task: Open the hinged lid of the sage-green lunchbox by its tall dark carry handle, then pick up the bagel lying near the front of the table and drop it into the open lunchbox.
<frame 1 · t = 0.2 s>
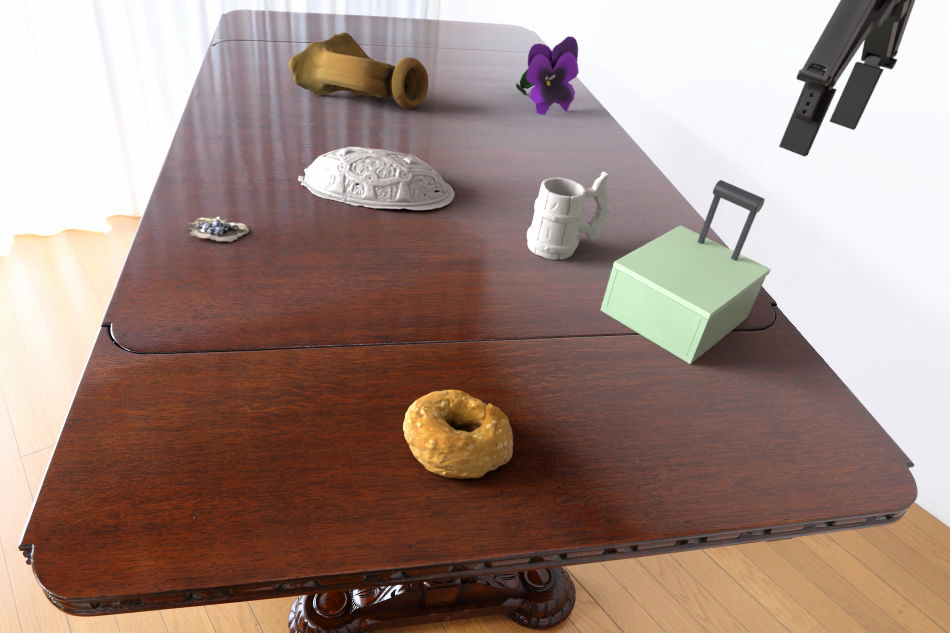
hand: (819, 137, 71), 27 cm above the table, tool pointing down, fingers open, 13 cm apart
flower: (536, 103, 151), on the table
bagel: (457, 447, 68), on the table
lunchbox lid: (704, 237, 84), point 12 cm above the table, hinge at 0.0°
lunchbox: (674, 314, 91), on the table
blueberries: (219, 232, 94), on the table
ornate oval dome: (377, 187, 110), on the table
brown looped sculpture: (359, 99, 140), on the table
mug: (562, 248, 102), on the table
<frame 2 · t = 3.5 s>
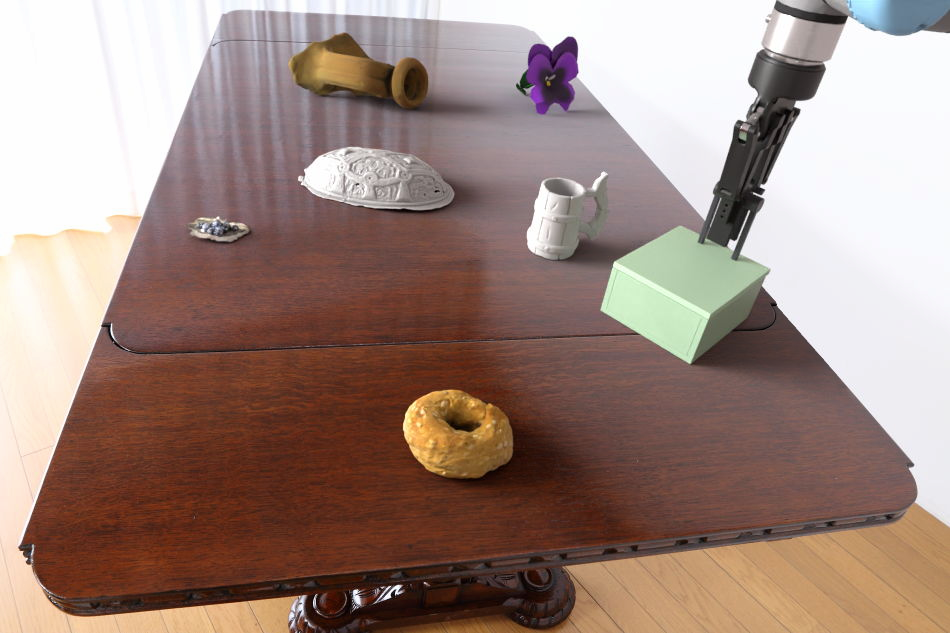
hand: (721, 238, 89), 9 cm above the table, tool pointing down, fingers closed on lunchbox lid, 2 cm apart
lunchbox lid: (704, 237, 84), point 12 cm above the table, hinge at 0.0°, touching gripper
everything else where it was.
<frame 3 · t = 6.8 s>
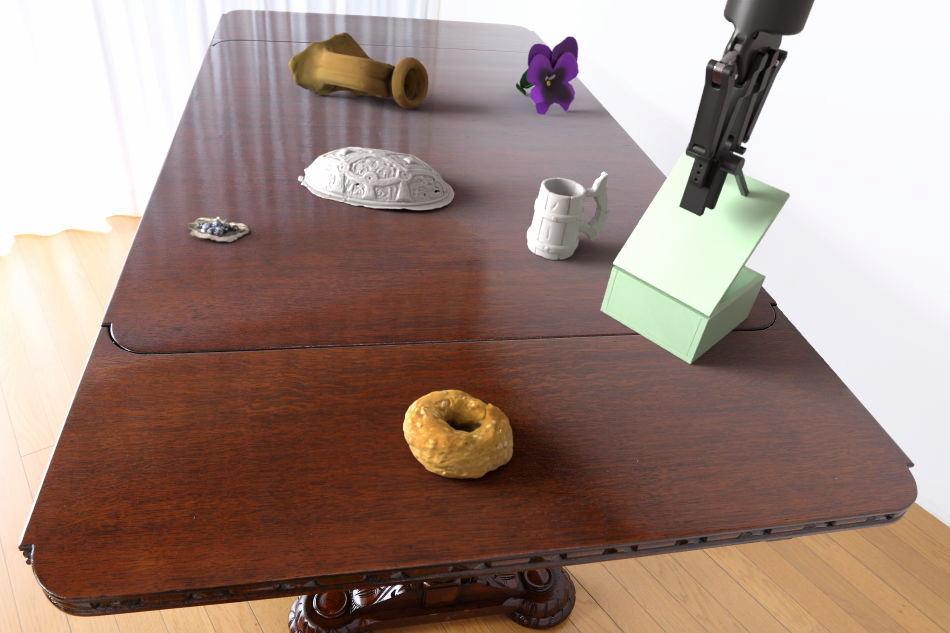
hand: (697, 207, 77), 18 cm above the table, tool pointing down, fingers closed on lunchbox lid, 2 cm apart
lunchbox lid: (690, 218, 77), point 16 cm above the table, hinge at 51.1°, touching gripper
everything else where it was.
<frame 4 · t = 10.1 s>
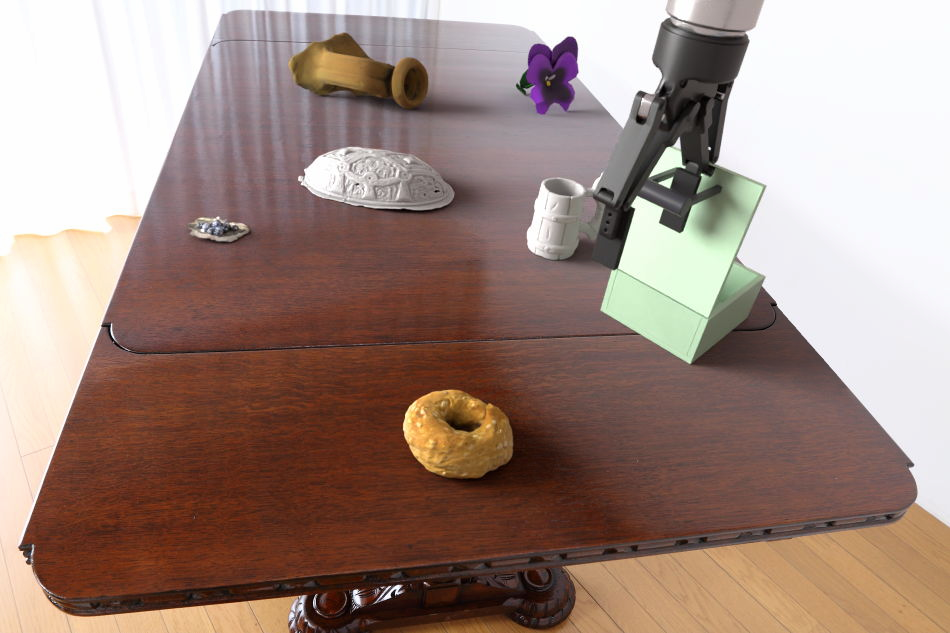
hand: (639, 244, 70), 17 cm above the table, tool pointing down, fingers open, 12 cm apart
lunchbox lid: (661, 239, 74), point 16 cm above the table, hinge at 87.7°
everything else where it was.
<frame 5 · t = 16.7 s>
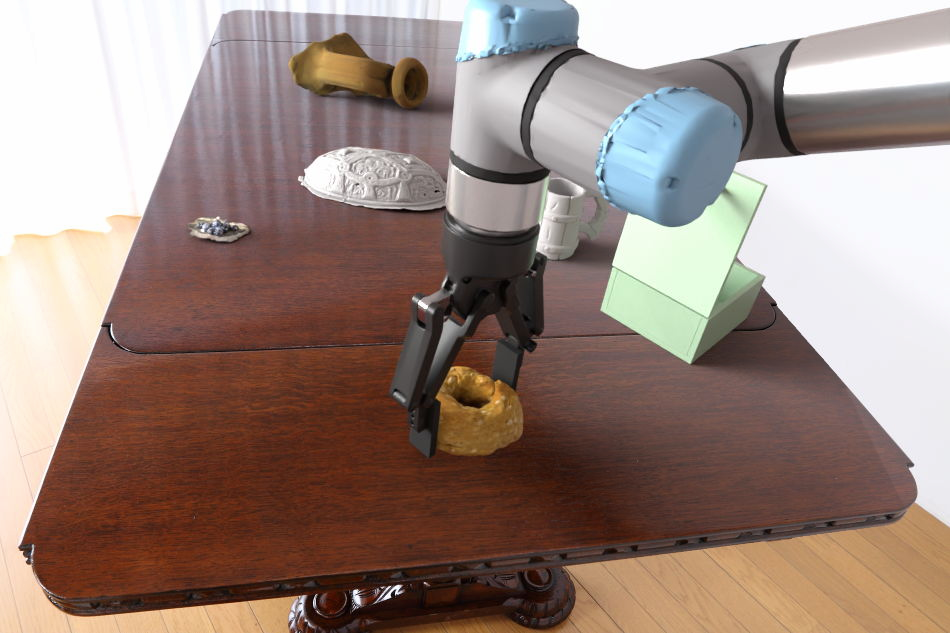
hand: (463, 421, 65), 4 cm above the table, tool pointing down, fingers closed on bagel, 10 cm apart
bagel: (465, 425, 65), point 3 cm above the table, touching gripper
lunchbox lid: (661, 238, 74), point 16 cm above the table, hinge at 86.8°
everything else where it was.
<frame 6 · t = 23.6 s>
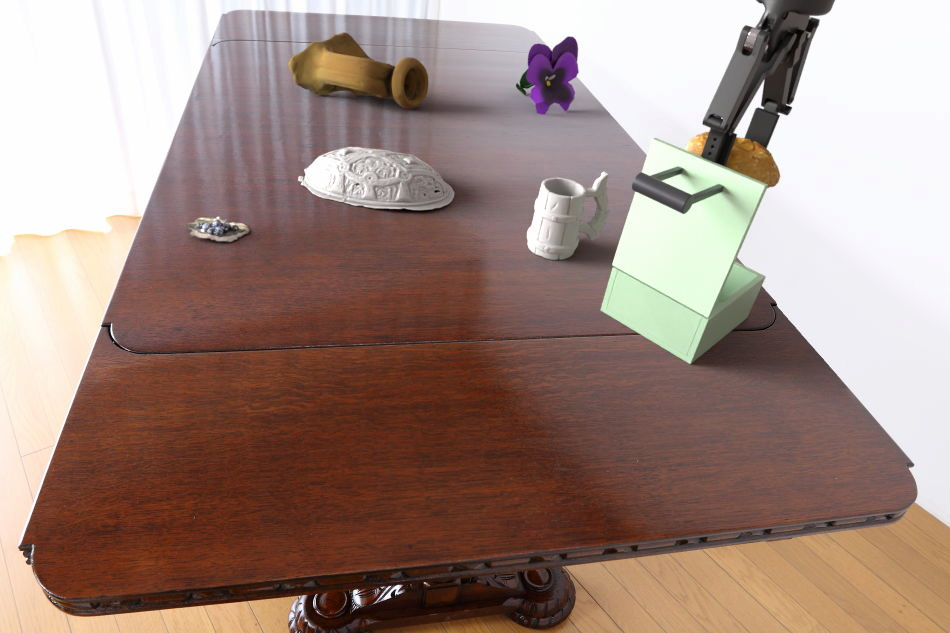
hand: (726, 174, 79), 20 cm above the table, tool pointing down, fingers closed on bagel, 10 cm apart
bagel: (726, 178, 79), point 20 cm above the table, touching gripper
lunchbox lid: (662, 238, 74), point 16 cm above the table, hinge at 86.3°, touching gripper
everything else where it was.
when the fingers open (20 cm above the table, at t = 23.6 s): bagel drops 19 cm, resting on lunchbox.
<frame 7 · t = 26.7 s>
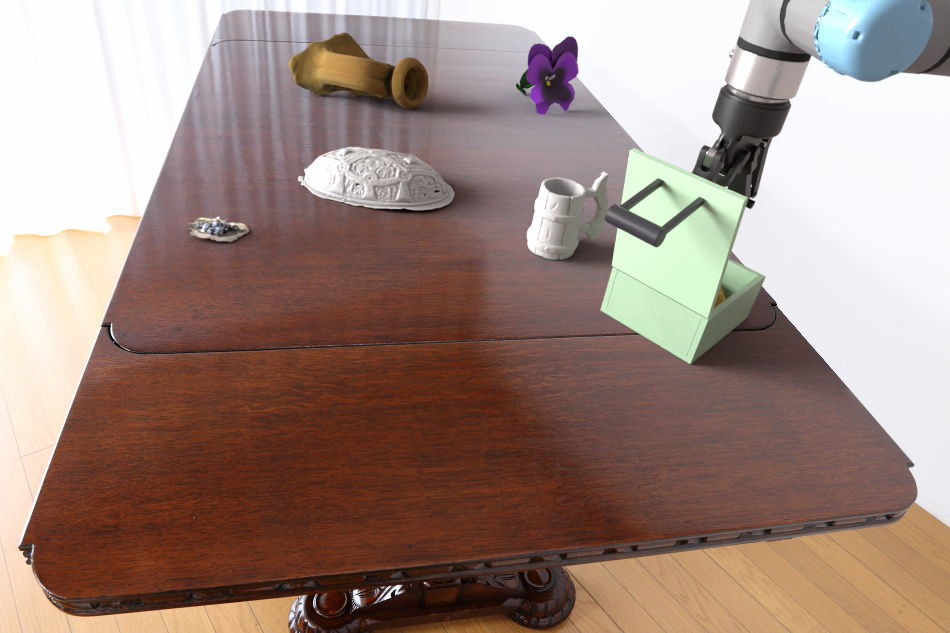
hand: (694, 263, 86), 8 cm above the table, tool pointing down, fingers open, 11 cm apart
bagel: (683, 308, 91), point 1 cm above the table, touching lunchbox
lunchbox lid: (648, 254, 74), point 14 cm above the table, hinge at 102.0°
everything else where it was.
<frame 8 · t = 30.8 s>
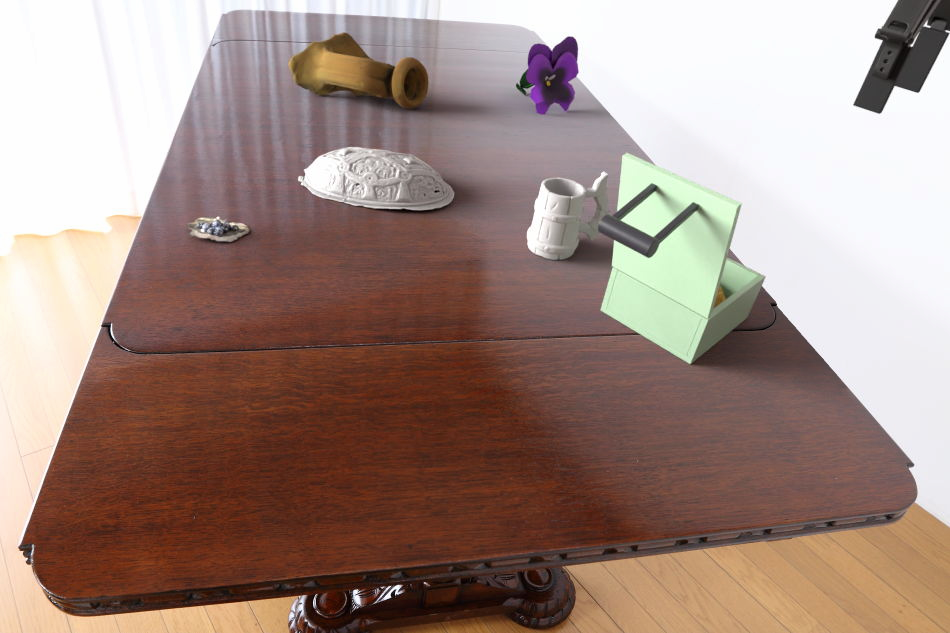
hand: (887, 98, 74), 31 cm above the table, tool pointing down, fingers open, 13 cm apart
lunchbox lid: (644, 260, 73), point 14 cm above the table, hinge at 106.2°
everything else where it was.
at the end: lunchbox lid at +106° (first picture: +0°); bagel inside the target area in the lunchbox (1.3 cm from its centre), point 0.6 cm above the lunchbox's base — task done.
